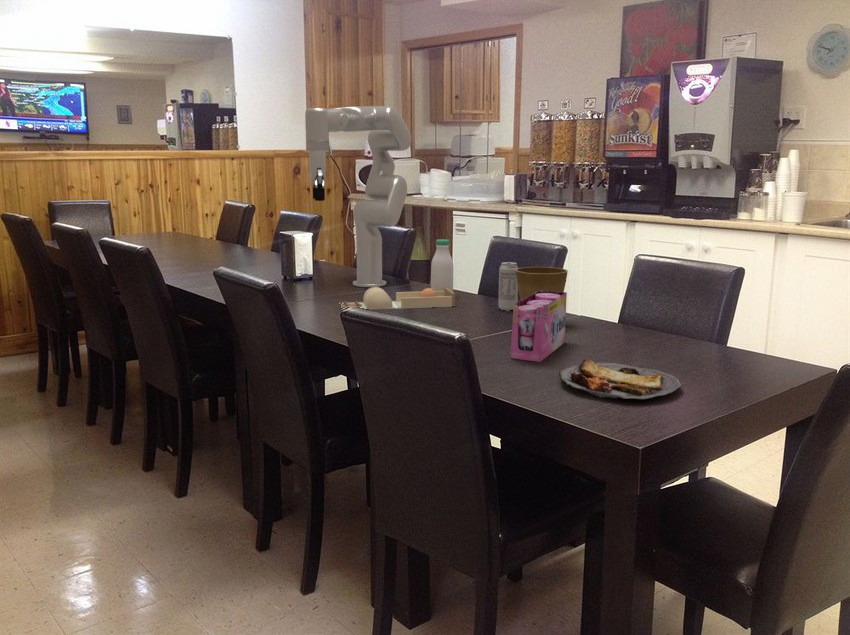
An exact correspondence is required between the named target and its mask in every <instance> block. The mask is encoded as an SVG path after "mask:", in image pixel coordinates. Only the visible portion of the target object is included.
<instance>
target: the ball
mask: <svg viewBox="0 0 850 635" xmlns="http://www.w3.org/2000/svg"><path fill="white" fill-rule="evenodd" d="M420 292H421V291H420ZM421 297H436V293H435V291H434V290H433V289H431V287H427V288H424V289H423V290H422V292H421Z"/></svg>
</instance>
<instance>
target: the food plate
mask: <svg viewBox="0 0 850 635" xmlns="http://www.w3.org/2000/svg"><path fill="white" fill-rule="evenodd" d="M558 375H559V380H561V382H563V383H564V384H565V385H567V386H568V385H570V386H571V388H573V389H579V390H581V391H583V390H584V391H585V392H587V393H589V394H591V395H593V396H596V397H598V398H612V399H620V398H621V399H624V400H625V399H627V400H628V399H629V400H632V399H633V400H634V399H635V400H647V399H652V398H654V397H659V396H666V395H668V394H672V393H674V392H675V391H677V390H678V389H679V388H680V387H681V385H682V383H680V380H679V379H678V378H676V377H675V376H673V375H672V374H669V373H667V372H663V371H660V370H657V369H655V368H652V367H649V366H645V365H644V366H643V365H637V364H628V363H625V364H624V363H616V362H594V361H592V360H591V359H588V358H586V359H583V361H582V363H580V364H576V365H575V364H573V365H571V366H568V367H565V368H562V369H561V370H560V371H559V372H558ZM652 391H657V392H655V393H653V394H652ZM635 395H636V396H635Z"/></svg>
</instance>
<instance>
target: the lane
mask: <svg viewBox="0 0 850 635" xmlns="http://www.w3.org/2000/svg"><path fill="white" fill-rule="evenodd" d="M422 291H423V290H422ZM422 291H398V292H397V291H396V292H395V300H392V298H391V296H389V294H388V293H387V292H386V291H385V290H384V289H383V288H381V287H368V288H367V290H366V291H365V292H364V294H363V296H362V297H363V298H362V302H361V301H358V303H359V304H362V306H361V307H360V308H364V309H369V310H368V311H374V310H375V311H376V310H379V311H381V310H398V309H399V310H402V309H405V310H406V309H407V310H408V309H427V308H429V309H430V308H431V309H432V307H436V308H453V307H452V306H456V293H455V292H454V291H453V292H452V291H451V290H450V289H448V288H444V291H435V293H436V297H421V292H422ZM340 303H342V304H344V302H339V303H338V305H339V304H340ZM351 303H355V301H354V302H353V301H352V302H351ZM341 308H342V307H340V309H341ZM343 309H345V308H343ZM343 309H341V311H342V310H343Z"/></svg>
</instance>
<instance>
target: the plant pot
mask: <svg viewBox="0 0 850 635" xmlns="http://www.w3.org/2000/svg"><path fill="white" fill-rule="evenodd" d="M516 277H517V284H518V296H519V299H520V300H522V299H524V298H526V297H528V296H530V295H532V294H533V293H535V292H537V291H539V290H543V291H556V292H565V288H566V283H567V279H568V278H567V277H568V269H565V268H560V267H551V266H549V267H548V266H525V267H518V269H516ZM520 300H519V301H520Z"/></svg>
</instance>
